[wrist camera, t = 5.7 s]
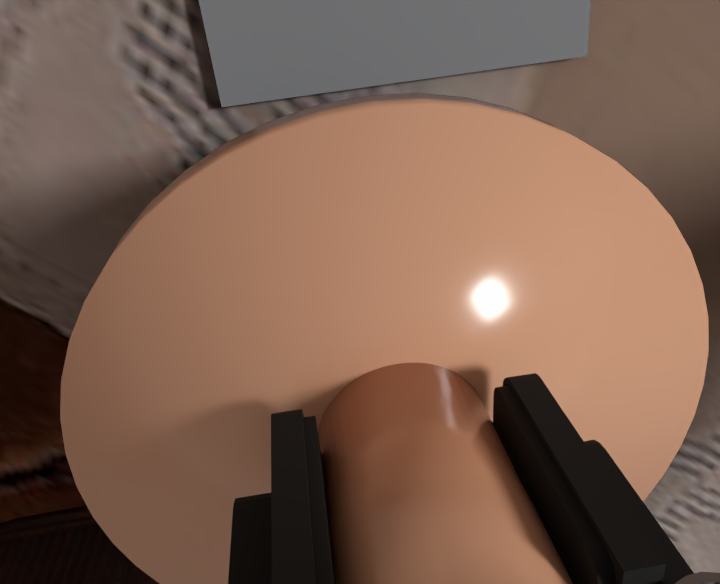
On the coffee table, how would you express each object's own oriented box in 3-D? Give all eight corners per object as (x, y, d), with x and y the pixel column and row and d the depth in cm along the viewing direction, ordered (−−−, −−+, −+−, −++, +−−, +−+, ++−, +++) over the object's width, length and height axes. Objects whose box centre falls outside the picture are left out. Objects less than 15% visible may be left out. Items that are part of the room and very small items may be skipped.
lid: (730, 51, 10) (1263, 141, 5) (637, 548, 16) (826, 843, 10) (-32, 143, 9) (-461, 385, 4) (165, 634, 15) (107, 1006, 9)
